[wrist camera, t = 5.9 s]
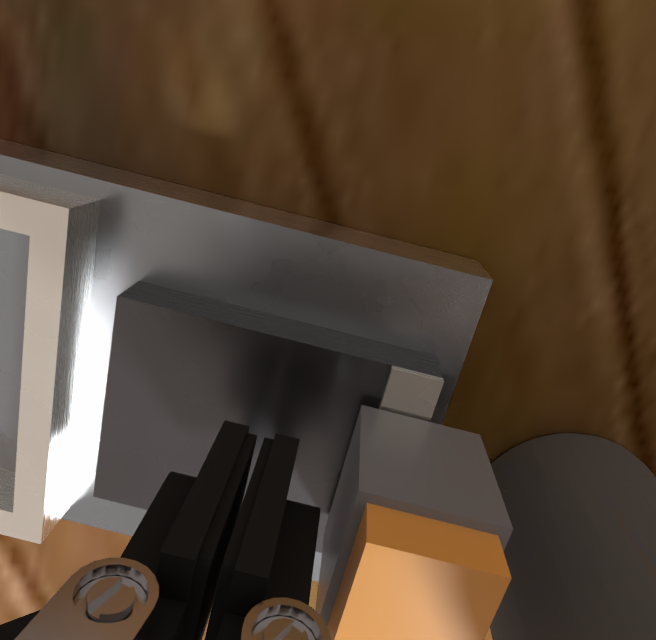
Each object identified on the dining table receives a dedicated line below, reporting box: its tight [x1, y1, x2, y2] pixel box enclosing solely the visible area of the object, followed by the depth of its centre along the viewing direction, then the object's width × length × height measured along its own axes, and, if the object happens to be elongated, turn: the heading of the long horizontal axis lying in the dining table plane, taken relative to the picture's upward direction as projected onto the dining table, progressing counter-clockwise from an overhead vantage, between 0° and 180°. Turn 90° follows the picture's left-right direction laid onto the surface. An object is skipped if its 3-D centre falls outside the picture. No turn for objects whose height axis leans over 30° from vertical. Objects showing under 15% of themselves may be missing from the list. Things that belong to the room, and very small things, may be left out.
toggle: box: [316, 405, 513, 640], centre depth 12 cm, size 3×4×4 cm
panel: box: [0, 139, 493, 582], centre depth 15 cm, size 19×10×4 cm, turn 76°
